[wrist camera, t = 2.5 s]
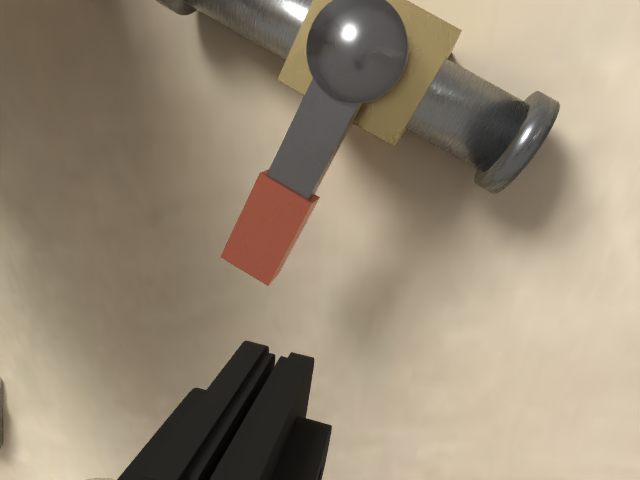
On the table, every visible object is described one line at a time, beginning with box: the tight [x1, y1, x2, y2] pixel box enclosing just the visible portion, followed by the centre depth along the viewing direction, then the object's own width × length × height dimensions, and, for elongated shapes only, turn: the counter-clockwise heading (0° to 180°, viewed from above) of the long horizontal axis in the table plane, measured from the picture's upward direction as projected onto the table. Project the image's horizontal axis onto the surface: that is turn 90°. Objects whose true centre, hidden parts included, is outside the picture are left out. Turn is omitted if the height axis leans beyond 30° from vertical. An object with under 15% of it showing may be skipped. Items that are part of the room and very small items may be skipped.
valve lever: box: [221, 0, 409, 285], centre depth 21 cm, size 14×4×2 cm, turn 152°
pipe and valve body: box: [156, 0, 560, 194], centre depth 24 cm, size 24×6×9 cm, turn 62°
